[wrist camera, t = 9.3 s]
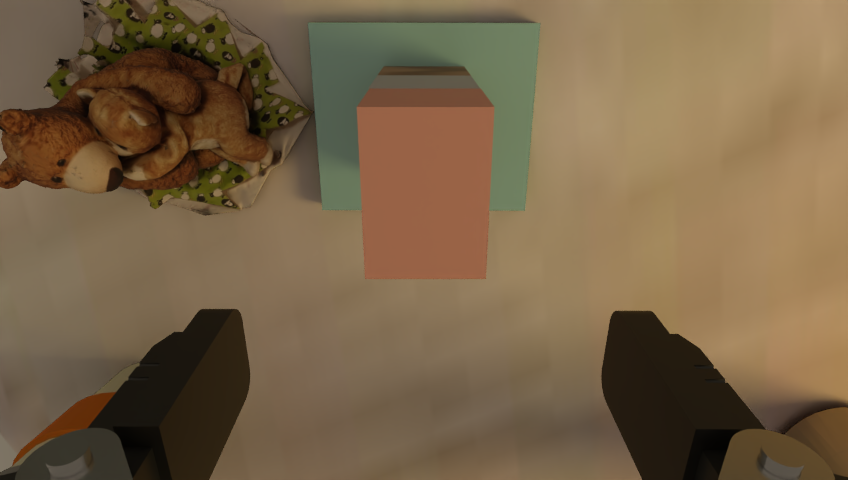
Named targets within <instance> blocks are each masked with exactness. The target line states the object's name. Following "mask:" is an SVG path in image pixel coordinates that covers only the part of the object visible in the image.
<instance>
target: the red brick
mask: <svg viewBox="0 0 848 480" xmlns="http://www.w3.org/2000/svg"><path fill="white" fill-rule="evenodd" d="M494 108H495V107H494V106H493V104H492V103H491V102H490V100H489V99H488V97H487V96H486V95H485V93H484V92H483V91H482V89H481V88H480V89H369V90H368V91H367V93H366V94H365V96H364V97H363V99H362V100H361V102H360V103H359V105H358V106H357V124H358V144H359V164H360V184H361V205H362V225H363V245H364V265H365V279H486V264H487V245H488V225H489V205H490V186H491V166H492V147H493V127H494Z"/></svg>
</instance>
